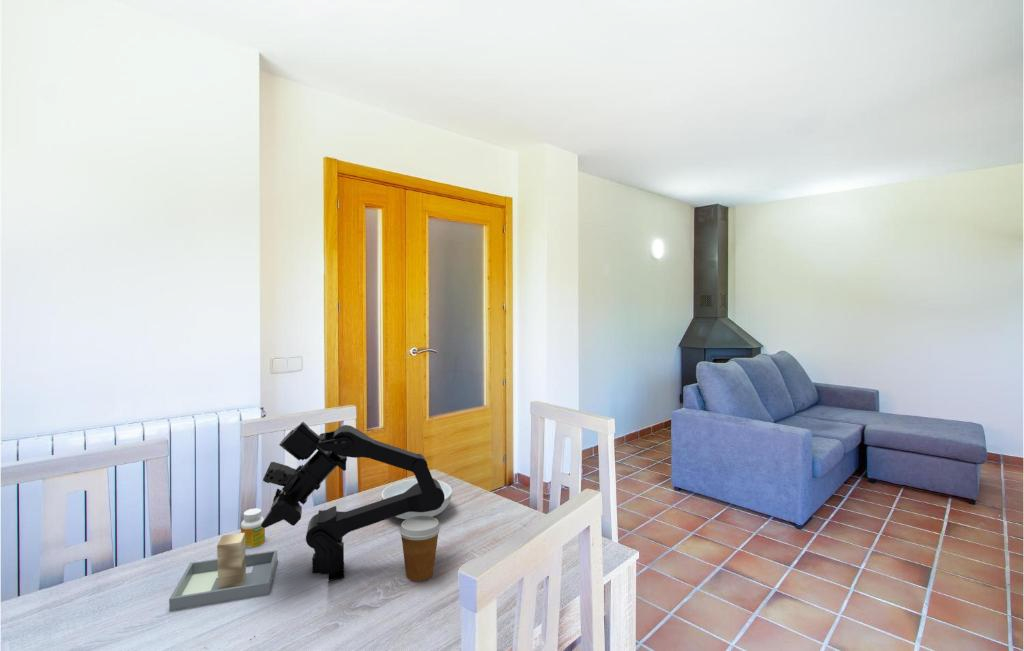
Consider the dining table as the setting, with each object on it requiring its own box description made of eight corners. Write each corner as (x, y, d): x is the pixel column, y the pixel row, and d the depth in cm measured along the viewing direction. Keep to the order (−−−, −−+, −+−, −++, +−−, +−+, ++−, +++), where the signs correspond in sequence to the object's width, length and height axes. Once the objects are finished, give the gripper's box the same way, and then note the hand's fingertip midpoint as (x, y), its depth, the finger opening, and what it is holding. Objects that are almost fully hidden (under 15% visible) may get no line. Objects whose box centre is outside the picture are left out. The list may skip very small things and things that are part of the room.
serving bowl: (446, 530, 136) (446, 506, 135) (372, 528, 136) (372, 505, 135) (456, 499, 156) (456, 478, 156) (391, 498, 157) (391, 477, 156)
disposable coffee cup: (390, 580, 111) (391, 528, 111) (412, 561, 120) (413, 512, 120) (427, 588, 108) (428, 534, 108) (447, 568, 116) (447, 518, 117)
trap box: (277, 566, 116) (277, 550, 116) (268, 601, 103) (268, 582, 103) (190, 579, 111) (190, 562, 110) (169, 618, 97) (169, 599, 97)
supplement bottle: (254, 555, 121) (254, 517, 121) (236, 552, 122) (235, 515, 122) (269, 544, 127) (269, 508, 126) (251, 542, 128) (251, 506, 127)
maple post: (245, 575, 110) (244, 532, 109) (241, 586, 106) (240, 542, 105) (223, 578, 108) (222, 535, 108) (218, 590, 104) (217, 545, 104)
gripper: (290, 438, 118) (241, 489, 115) (281, 464, 100) (222, 524, 97) (326, 466, 121) (279, 516, 118) (322, 496, 103) (267, 555, 100)
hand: (262, 526), depth 108 cm, fingers closed
